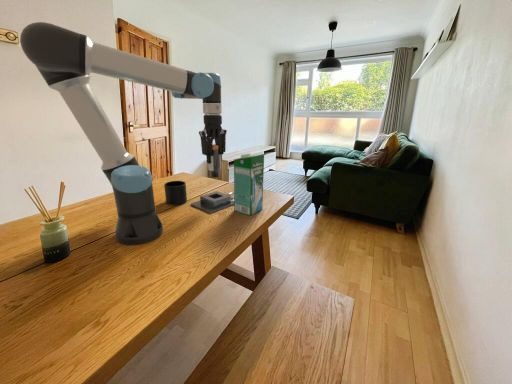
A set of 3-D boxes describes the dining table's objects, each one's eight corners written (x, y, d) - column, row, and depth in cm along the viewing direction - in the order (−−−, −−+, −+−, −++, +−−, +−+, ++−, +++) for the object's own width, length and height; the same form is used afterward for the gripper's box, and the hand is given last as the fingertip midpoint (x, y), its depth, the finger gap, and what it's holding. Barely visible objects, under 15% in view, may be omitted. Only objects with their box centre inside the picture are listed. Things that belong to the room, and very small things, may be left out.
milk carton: (246, 204, 115) (247, 151, 107) (262, 209, 110) (264, 153, 102) (234, 210, 108) (233, 153, 100) (250, 215, 103) (251, 156, 95)
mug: (191, 197, 123) (190, 179, 120) (182, 206, 111) (180, 187, 108) (173, 196, 124) (172, 178, 121) (162, 204, 112) (160, 186, 109)
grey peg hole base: (210, 213, 104) (209, 205, 103) (190, 205, 113) (190, 197, 111) (245, 200, 120) (245, 192, 119) (226, 193, 129) (226, 186, 127)
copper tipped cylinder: (209, 176, 110) (207, 145, 106) (215, 174, 113) (214, 144, 108) (214, 178, 108) (213, 146, 103) (221, 176, 111) (220, 145, 106)
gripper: (201, 115, 93) (205, 174, 101) (233, 114, 105) (234, 167, 113) (190, 114, 98) (194, 171, 106) (221, 113, 110) (223, 165, 118)
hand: (214, 169), depth 109 cm, fingers closed on copper tipped cylinder, 4 cm apart
